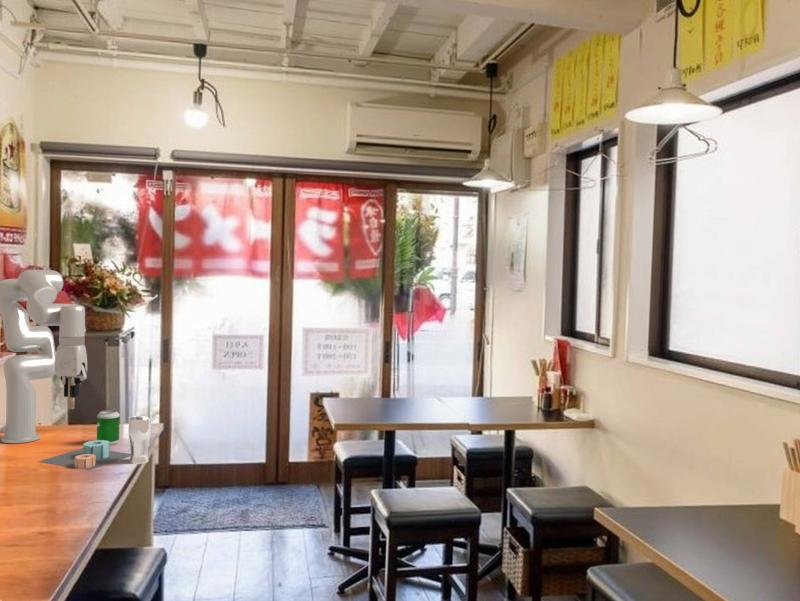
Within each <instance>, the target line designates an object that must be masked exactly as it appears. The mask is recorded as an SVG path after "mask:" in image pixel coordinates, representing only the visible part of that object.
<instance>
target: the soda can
mask: <svg viewBox="0 0 800 601" xmlns="http://www.w3.org/2000/svg"><path fill="white" fill-rule="evenodd" d="M120 415H121V414H120V412H118V411H117V410H112V409H111V410H102V411H99V413H98V414H97V416H96V440H100V441H101V440H106V441H109V442H110V446H113V445H116V444H118V443H119V442H120V419H121V418H120Z"/></svg>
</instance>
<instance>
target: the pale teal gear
mask: <svg viewBox="0 0 800 601" xmlns="http://www.w3.org/2000/svg"><path fill="white" fill-rule="evenodd" d="M110 446H111V445H110V442H109V441H106V440H101V441H100V440H97V439H96V440H95V439H94V440H89V441H86V442H84V443H83V447H82V448H83V454H85V455H86V454H94V455H96V459H101V458H106V457H108V456H109V451H110Z"/></svg>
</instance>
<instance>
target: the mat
mask: <svg viewBox="0 0 800 601" xmlns="http://www.w3.org/2000/svg"><path fill="white" fill-rule="evenodd" d="M82 454H83V447H82V448H79V449H75V450H70V451H68V452H65V453H62V454H58V455H55V456H52V457H51V456H50V457H47V458H46V459H41V460H38V461H37V463H40V464H41V463H42V464H48V465H53V466H62V467H67V468H68V467H69V468H75V469H77V468H76V467H75V457H76V456H78V455H82ZM130 456H131V453H126V452H119V451H112V450H109V456H108V457H106V458H101V459H96V462H95V466H93V467H89V468H79V469H81V470H87V471H91V470H95V469H97V468H98V469H99V468H100V467H103V466H106V465H109V464H111V463H115V462H117V461H120V460H123V459H127V458H130Z"/></svg>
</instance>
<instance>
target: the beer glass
mask: <svg viewBox="0 0 800 601" xmlns="http://www.w3.org/2000/svg"><path fill="white" fill-rule="evenodd" d="M128 420H129V421H128V440H129V441H128V442H129V447H130V454H131V456H129V462H128V463H129V464H132V465H140V464H141V465H142V464H147V463H149V461H150V459H149V458H150V457H149V445H150V442H151V440H150V439H151V435H152V434H151V433H152V423H151V422H152V421H151V416H147V415H137V416H131V417H129V419H128Z"/></svg>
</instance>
